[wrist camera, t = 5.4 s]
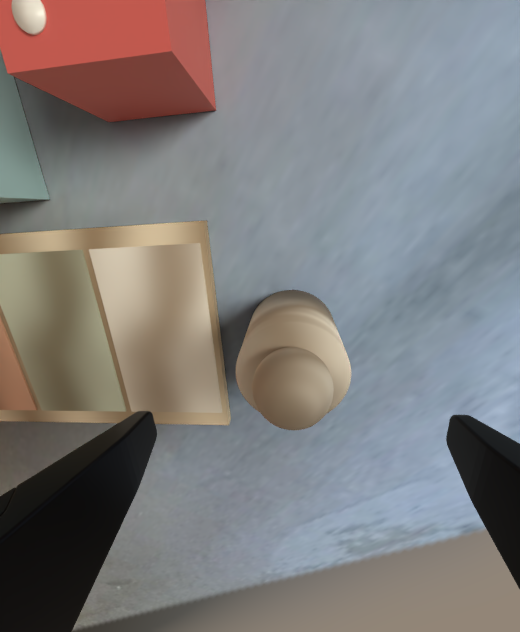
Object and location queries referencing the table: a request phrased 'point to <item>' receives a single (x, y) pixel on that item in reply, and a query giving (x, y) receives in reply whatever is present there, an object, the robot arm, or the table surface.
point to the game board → (111, 326)
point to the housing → (17, 148)
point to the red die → (112, 54)
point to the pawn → (293, 361)
